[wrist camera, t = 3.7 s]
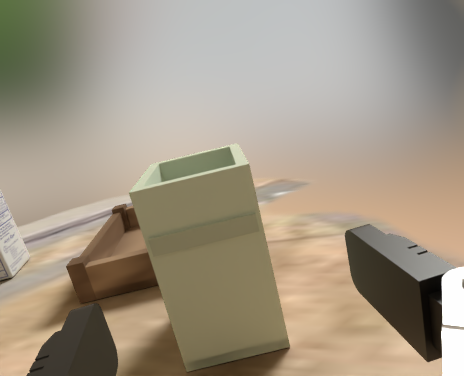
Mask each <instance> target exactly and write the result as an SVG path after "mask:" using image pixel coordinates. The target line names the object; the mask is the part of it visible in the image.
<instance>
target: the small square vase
mask: <svg viewBox="0 0 464 376" xmlns="http://www.w3.org/2000/svg"><path fill="white" fill-rule="evenodd" d="M129 194H130V198H131V201H132V204H133V207H134V210H135V213H136V216H137V219H138V222H139V226H140V229H141V232H142V235H143V238H144V241H145V244H146V247H147V250H148V254H149V257H150V260H151V263H152V266H153V269H154V272H155V275H156V278H157V282H158V285H159V288H160V291H161V294H162V297H163V300H164V303H165V306H166V310H167V313H168V316H169V319H170V322H171V325H172V328H173V331H174V334H175V337H176V341H177V344H178V347H179V350H180V353H181V356H182V359H183V362H184V365H185V369H186V372H189V371H193V370H197V369H201V368H205V367H209V366H213V365H217V364H222V363H226V362H230V361H234V360H238V359H242V358H246V357H251V356H255V355H259V354H263V353H267V352H271V351H275V350H280V349H284V348H288V347H290V344H289V340H288V335H287V331H286V326H285V322H284V317H283V313H282V308H281V304H280V300H279V295H278V291H277V286H276V282H275V277H274V273H273V268H272V264H271V259H270V255H269V250H268V246H267V242H266V237H265V233H264V228H263V224H262V219H261V215H260V210H259V206H258V201H257V197H256V192H255V188H254V184H253V179H252V175H251V170H250V166H249V163H248V161H247V159H246V157H245V156H244V154H243V152H242V150H241V149H240V147H239V145H238V144H233V145H229V146H224V147H221V148H216V149H212V150H208V151H204V152H200V153H196V154H191V155H187V156H183V157H179V158H175V159H171V160H166V161H162V162H158V163H154V164H151V165H150V166H149V168H148V169H147V170H146V172H145V173H144V174H143V176H142V177H141V178H140V180H139V181H138V182H137V183H136V184H135V186H134V187H133V188H132V190H131V191H130V192H129Z"/></svg>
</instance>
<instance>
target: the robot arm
mask: <svg viewBox="0 0 464 376" xmlns="http://www.w3.org/2000/svg"><path fill="white" fill-rule="evenodd" d="M345 240H346V246H347V253H348V259H349V265H350V271H351V276H352V279H353V282H354V284H355V286H356V288H357V290H358V291H359V293H360V294H361V295H362V296H363V297H364V298H365V299H366V300H367V301H368V302H369V303H370V304H371V305H372V306H373V307H374V308H375V309H376V310H377V311H378V312H379V313H380V314H381V315H382V316H383V317H384V318H385V319H386V320H387V321H388V322H389V323H390V324H391V325H392V326H393V327H394V328H395V329H396V330H397V331H398V333H399V334H400V335H401V336H402V337H403V338H404V339H405V340H406V341H407V342H408V343H409V344H410V345H411V346H412V347H413V348H414V349H415V350H416V351H417V352H418V353H419V354H420V355H421V356H422V357H423V358H424V359H425V360H426V361H427V362H430V361H433V360H436V359H439V358H442V357H443V376H464V267H462V268H456V267H454V266H453V265H451V264H449V263H448V262H446V261H444V260H443V259H441V258H439V257H437V256H436V255H434V254H432V253H431V252H427V250H426V249H424V248H422V247H420V246H417V244H415V243H414V242H412V241H410V240H409V239H407V238H405V237H401V236H397V235H393V234H387V235H386V234H385V233H383V232H381V231H380V230H378V229H377V228H375V227H373V226H372V225H370V224H367V225H364V226H360V227H357V228H353V229H350V230H347V231H346V233H345ZM35 360H36V361H35V362H34V363H33V364H32V366H31V368H30V370H29V371H30V373H28V374H27V376H116V373H117V368H118V356H117V350H116V346H115V344H114V341H113V338H112V336H111V333H110V330H109V328H108V325H107V322H106V320H105V317H104V314H103V312H102V309H101V307H100V306H99V304H97V303H95V304H91V305H88V306H84V307H81V308H78V309H74V310H71V311H70V313H69V315H68V317H67V319H66V321H65V323H64V325H63V327H62V329H61V331H57V332H55V333H54V334H53V335H52V336H51V337H50V338H49V339H48V340H47V341H46V342H45V343H44V344H43V345H42V347H41V349H40V351H39V353H38V355H37V357H36V359H35Z"/></svg>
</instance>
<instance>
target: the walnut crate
mask: <svg viewBox="0 0 464 376" xmlns="http://www.w3.org/2000/svg"><path fill="white" fill-rule="evenodd" d="M112 212H113V214H112V216H111V217H110V218H109V219H108V221H107V222H106V223H105V225H104V226H103V227H102V228H101V230H100V231H99V232H98V234H97V235H96V236H95V237H94V239H93V240H92V241H91V243H90V244H89V245H88V246H87V248H86V249H85V250H84V252H83V253H82V254H81V255H80V257H77V258H73V259H72V260H71V261H70V262H69V263H68V265H67V266H66V268H67V270H68V273H69V275H70V278H71V280H72V283H73V286H74V288H75V291H76V293H77V296H78V298H79V301H80V303H85V302H89V301H93V300H98V299H102V298H106V297H110V296H114V295H118V294H122V293H127V292H131V291H135V290H139V289H143V288H147V287H151V286H155V285H158V282H157V278H156V275H155V272H154V269H153V266H152V263H151V260H150V257H149V254H148V250H147V247H146V244H145V241H144V238H143V235H142V232H141V229H140V226H139V222H138V219H137V216H136V213H135V210H134V207H133V206H130V207H127V206H126V204H123V205H119V206H115V207H114V208H113V209H112Z"/></svg>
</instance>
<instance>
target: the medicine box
mask: <svg viewBox="0 0 464 376" xmlns="http://www.w3.org/2000/svg"><path fill="white" fill-rule="evenodd" d="M29 258H30V256H29V253H28V251H27V249H26V247H25V244H24V242H23V240H22V237H21V235H20V233H19V231H18V228H17V226H16V224H15V222H14V219H13V217H12V215H11V212H10V210H9V208H8V206H7V204H6V201H5V199H4V196H3V194H2V192H1V189H0V280H4V279H8V278H12V277H13V276H14V275H15V274H16V273H17V272H18V271H19V270H20V269H21V268H22V267H23V266H24V264H25V263H26V262H27V261H28V259H29Z"/></svg>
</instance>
